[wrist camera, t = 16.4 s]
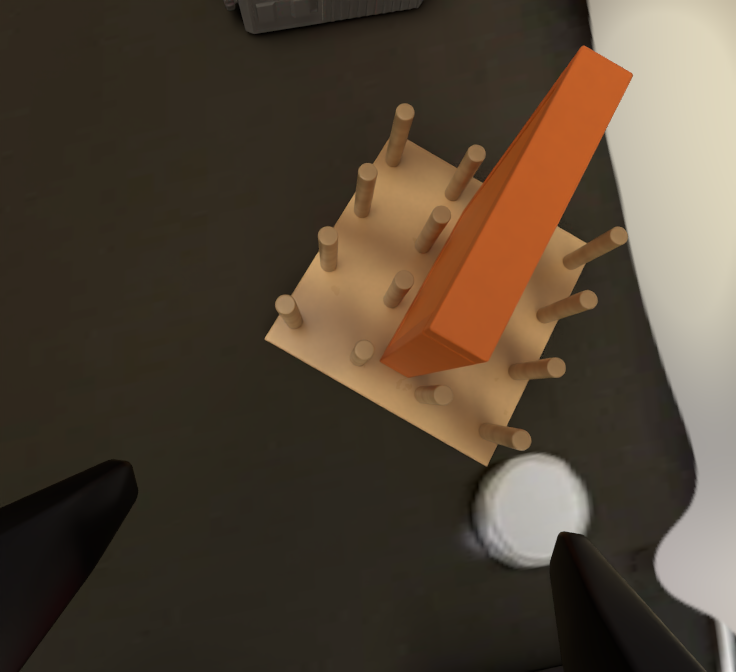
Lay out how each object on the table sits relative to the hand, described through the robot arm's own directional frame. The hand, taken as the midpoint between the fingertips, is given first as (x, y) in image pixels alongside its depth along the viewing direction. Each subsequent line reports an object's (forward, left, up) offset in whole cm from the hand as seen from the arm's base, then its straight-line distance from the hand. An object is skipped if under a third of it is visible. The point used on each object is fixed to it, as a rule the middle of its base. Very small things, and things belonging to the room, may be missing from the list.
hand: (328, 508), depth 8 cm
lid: (+9, -3, -12) cm, 16 cm away
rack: (+9, -3, -13) cm, 16 cm away
